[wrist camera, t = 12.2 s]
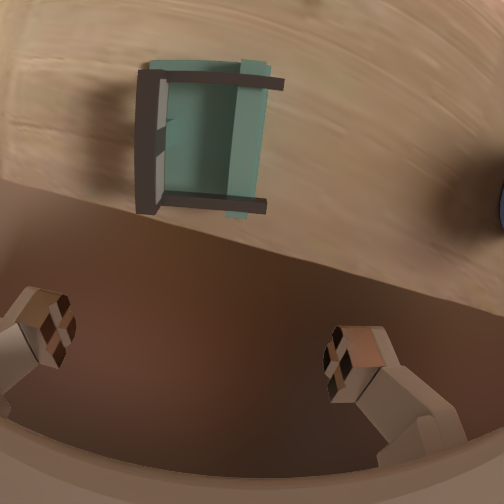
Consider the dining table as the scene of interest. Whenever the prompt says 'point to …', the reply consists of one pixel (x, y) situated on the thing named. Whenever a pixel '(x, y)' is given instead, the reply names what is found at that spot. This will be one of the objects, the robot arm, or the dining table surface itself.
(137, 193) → the glasses frame
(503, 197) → the water jug
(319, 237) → the dining table surface
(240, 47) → the dining table surface
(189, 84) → the display stand
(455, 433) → the robot arm
